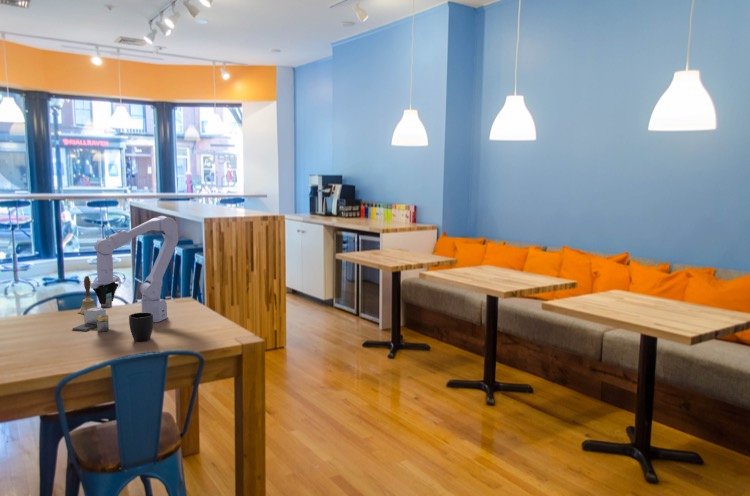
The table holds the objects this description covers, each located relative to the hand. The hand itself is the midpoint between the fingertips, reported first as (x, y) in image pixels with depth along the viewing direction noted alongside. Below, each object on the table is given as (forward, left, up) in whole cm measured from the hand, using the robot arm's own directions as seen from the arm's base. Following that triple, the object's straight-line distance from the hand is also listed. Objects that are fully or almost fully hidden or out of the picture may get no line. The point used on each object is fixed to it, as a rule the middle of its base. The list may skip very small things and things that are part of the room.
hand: (106, 302), depth 222 cm
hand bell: (+22, -17, -10) cm, 29 cm away
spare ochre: (-3, +7, -10) cm, 12 cm away
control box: (+6, 0, -10) cm, 11 cm away
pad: (+6, +6, -10) cm, 13 cm away
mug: (-23, +11, -10) cm, 28 cm away
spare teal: (0, 0, -2) cm, 2 cm away
